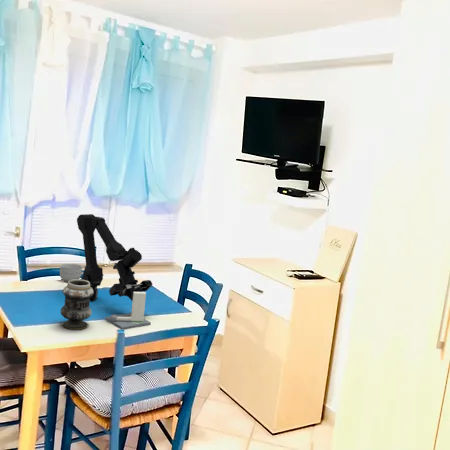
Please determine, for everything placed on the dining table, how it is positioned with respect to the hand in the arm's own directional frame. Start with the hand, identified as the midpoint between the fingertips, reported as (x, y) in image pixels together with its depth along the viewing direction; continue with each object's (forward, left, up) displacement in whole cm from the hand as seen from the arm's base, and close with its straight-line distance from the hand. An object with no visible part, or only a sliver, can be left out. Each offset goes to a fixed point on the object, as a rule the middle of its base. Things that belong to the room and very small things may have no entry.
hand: (137, 305), depth 227 cm
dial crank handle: (-3, -3, -6) cm, 7 cm away
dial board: (-3, -1, -7) cm, 8 cm away
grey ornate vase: (-21, -14, -8) cm, 27 cm away
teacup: (-45, +44, -8) cm, 64 cm away
